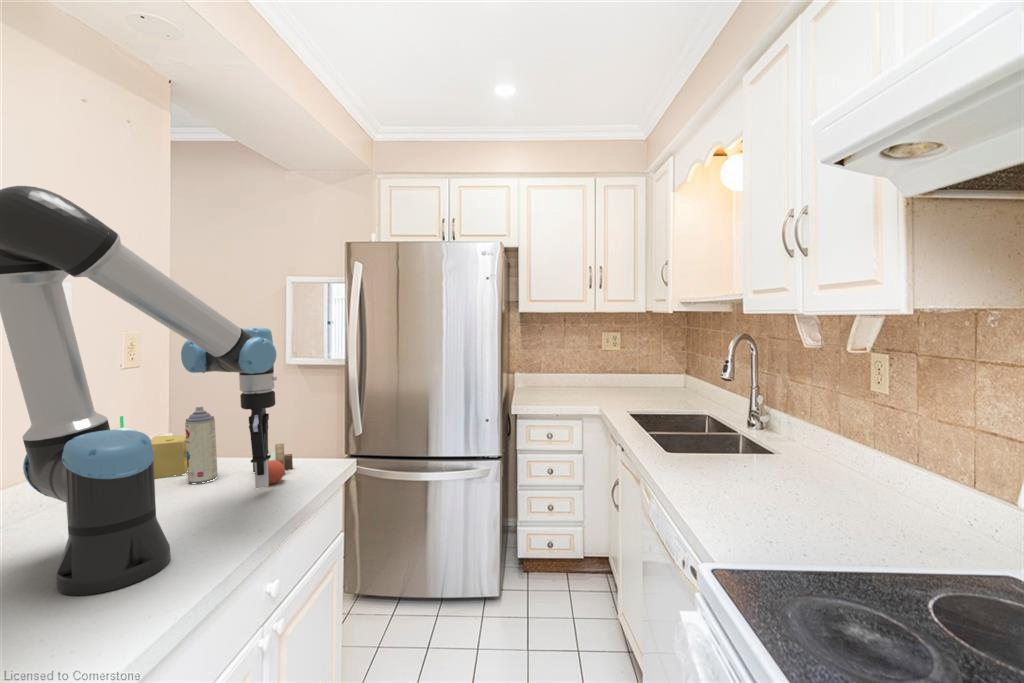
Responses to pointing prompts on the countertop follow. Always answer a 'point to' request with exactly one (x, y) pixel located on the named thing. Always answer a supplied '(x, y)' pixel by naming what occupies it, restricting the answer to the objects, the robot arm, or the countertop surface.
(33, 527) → the countertop surface
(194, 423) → the aerosol can
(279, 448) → the pin
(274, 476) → the ball
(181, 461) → the yellow box
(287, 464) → the back wall
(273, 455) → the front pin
